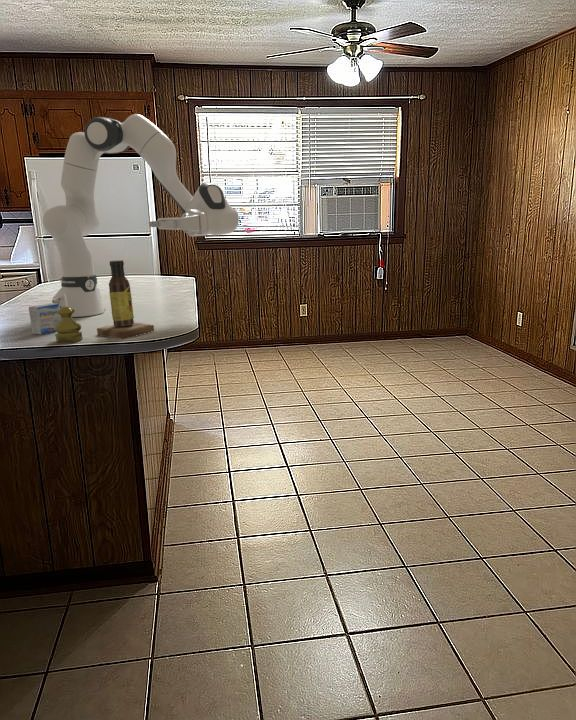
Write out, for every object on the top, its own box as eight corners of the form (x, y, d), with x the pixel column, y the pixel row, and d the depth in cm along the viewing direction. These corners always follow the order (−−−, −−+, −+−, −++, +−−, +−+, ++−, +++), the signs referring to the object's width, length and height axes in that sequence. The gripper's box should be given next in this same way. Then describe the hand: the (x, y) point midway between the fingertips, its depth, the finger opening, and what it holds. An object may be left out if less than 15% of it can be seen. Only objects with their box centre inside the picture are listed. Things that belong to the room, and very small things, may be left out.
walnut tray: (97, 334, 172) (96, 328, 172) (129, 327, 182) (128, 321, 181) (122, 339, 165) (122, 331, 165) (154, 331, 175) (153, 324, 174)
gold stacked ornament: (74, 343, 162) (70, 309, 159) (51, 343, 163) (46, 309, 160) (87, 337, 169) (83, 304, 166) (65, 337, 170) (60, 304, 167)
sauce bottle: (136, 326, 172) (129, 260, 167) (115, 328, 170) (107, 262, 165) (132, 322, 178) (125, 259, 173) (112, 325, 176) (104, 260, 170)
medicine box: (40, 335, 175) (36, 307, 173) (32, 333, 177) (27, 306, 175) (62, 330, 181) (58, 303, 179) (53, 329, 184) (50, 302, 181)
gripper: (180, 213, 196) (142, 214, 189) (206, 212, 180) (166, 213, 172) (182, 232, 198) (144, 233, 190) (208, 232, 181) (167, 234, 174)
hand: (154, 224), depth 181 cm, fingers open, 8 cm apart
